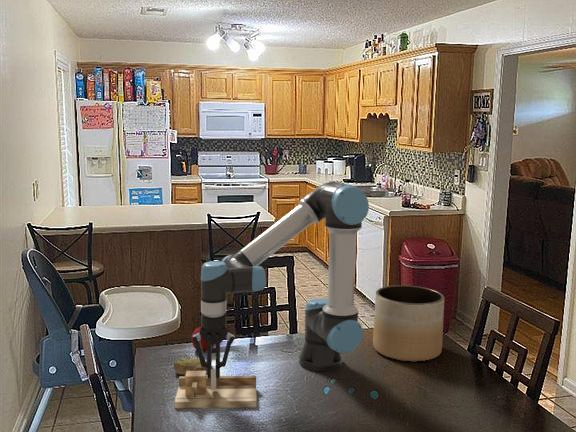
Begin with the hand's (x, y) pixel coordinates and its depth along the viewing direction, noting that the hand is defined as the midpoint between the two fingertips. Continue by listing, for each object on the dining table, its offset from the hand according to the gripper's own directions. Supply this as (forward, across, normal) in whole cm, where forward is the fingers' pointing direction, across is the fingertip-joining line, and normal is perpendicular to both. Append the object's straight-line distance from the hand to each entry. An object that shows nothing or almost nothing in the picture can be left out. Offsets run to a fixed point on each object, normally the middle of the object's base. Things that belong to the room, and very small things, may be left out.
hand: (213, 387), depth 176 cm
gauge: (+1, +5, +3) cm, 6 cm away
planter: (+3, -70, -36) cm, 79 cm away
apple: (+3, +6, -39) cm, 39 cm away
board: (+3, -1, 0) cm, 3 cm away
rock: (+4, +8, -21) cm, 23 cm away
